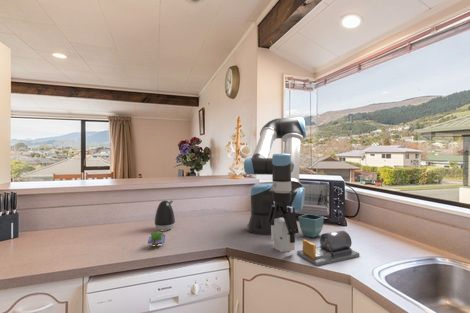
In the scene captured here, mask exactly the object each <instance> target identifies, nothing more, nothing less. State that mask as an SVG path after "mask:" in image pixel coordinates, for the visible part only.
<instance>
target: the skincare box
mask: <svg viewBox="0 0 470 313" xmlns="http://www.w3.org/2000/svg"><path fill="white" fill-rule="evenodd" d="M288 233H289V232H288V229H287V226H286V223H285V221H284V218H283V217H279V218H276V219H274V241H273V248H274V249H276V250H277V251H278V252H281V253H286V252H289V251H288V250H287V234H288Z"/></svg>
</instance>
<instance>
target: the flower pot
mask: <svg viewBox="0 0 470 313" xmlns="http://www.w3.org/2000/svg"><path fill="white" fill-rule="evenodd" d="M324 218H325V217H324V216H323V215H317V214H311V213H305V214H302V215H300V216H298V222H299V229H300V230H301V233H302V235H304V236H306V237H309V238H310V237H311V238H315V237H317V236H319V235H320V234H321V232H322V230H323V227H324V221H325V219H324Z"/></svg>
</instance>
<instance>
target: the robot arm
mask: <svg viewBox="0 0 470 313" xmlns="http://www.w3.org/2000/svg"><path fill="white" fill-rule="evenodd" d="M306 137H307V132H306V124H305V119H304V117H301V116H300V117H297V116H295V117H286V118H285V117H282V118H275V119H271V120H269V121H268V122H267V123H265V125H263V126H262V128H261V129H260V132H259V139H258V142H257V144H256V146H255V149H254V152H253V155H252V156H251V157H248V158H245V159H244V161H243V169H244V173H245V174H246V175H255V176H256V175H258V176H259V175H262V176H263V175H268V176H270V175H271V176H272V180H271V181H272V183H263V184H256V185H254V186H252V187H251V189H250V217H249V220H248V223H247V231H248V232H250V233H252V234H257V235H270V236H271V237H270V238H271V242H274V219H276V218H280V216H281V218H284V221H285V223H286V226H287V229H288V232H289V233H288V234H287V250H288V251H287V252H291V251H295V249H296V248H295V243H296V235H297V234H299V233H300V231H299V226H298V222H297V218H296V212H301V211H302V210H303V207H304V204H305V194H306V188H305V187H303V185H302V184H303V183H301V182H300V165H301V164H300V162H301V144H302V143H303V141H304V139H306ZM277 139H281V141H282V142H284V144H283V145H284V146H283V153H274V154H272V156H271V157H270V153H271V150H272V146H273V143H274V141H276V140H277Z"/></svg>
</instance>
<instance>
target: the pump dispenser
mask: <svg viewBox="0 0 470 313" xmlns="http://www.w3.org/2000/svg"><path fill="white" fill-rule="evenodd" d="M172 203H173V200H170V201H168V200H161V201H160V202H159V204H158V206H157V209H156V211H155V215H154V225H155V228H156V229H157V230H158V231H160V230H168V231H170V230H172V229H173V227H174V225H175V223H176V219H175V218H176V217H175V213H174V209H173V206H172ZM171 228H172V229H171ZM169 229H170V230H169Z"/></svg>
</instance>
